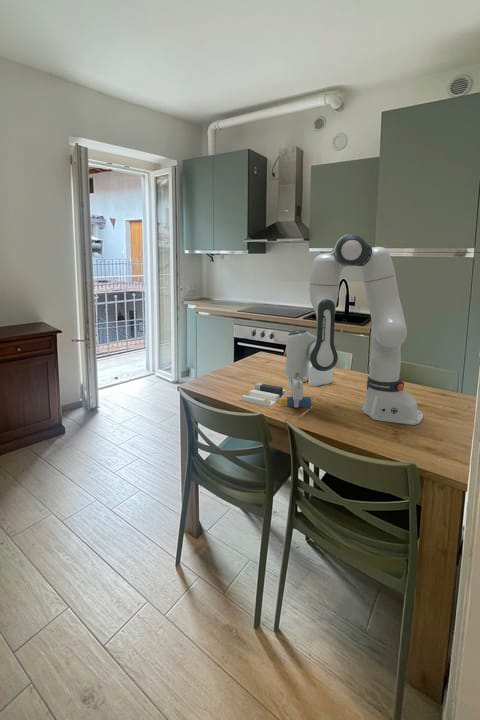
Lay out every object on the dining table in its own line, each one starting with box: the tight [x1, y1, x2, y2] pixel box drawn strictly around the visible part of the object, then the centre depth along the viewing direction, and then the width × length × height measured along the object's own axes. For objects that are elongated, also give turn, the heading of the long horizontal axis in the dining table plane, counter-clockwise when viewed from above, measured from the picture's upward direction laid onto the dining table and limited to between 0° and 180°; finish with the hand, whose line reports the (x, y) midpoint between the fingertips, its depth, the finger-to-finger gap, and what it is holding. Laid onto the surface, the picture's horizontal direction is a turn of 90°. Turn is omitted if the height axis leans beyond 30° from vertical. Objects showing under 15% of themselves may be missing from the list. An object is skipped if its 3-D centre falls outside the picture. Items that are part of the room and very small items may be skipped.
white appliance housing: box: [241, 389, 287, 407], centre depth 173 cm, size 13×16×3 cm
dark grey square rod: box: [254, 382, 284, 398], centre depth 176 cm, size 12×3×4 cm, turn 59°
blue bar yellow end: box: [280, 396, 312, 410], centre depth 165 cm, size 12×3×4 cm, turn 88°
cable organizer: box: [302, 362, 335, 388], centre depth 194 cm, size 15×11×12 cm
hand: (294, 402), depth 165 cm, fingers open, 8 cm apart
